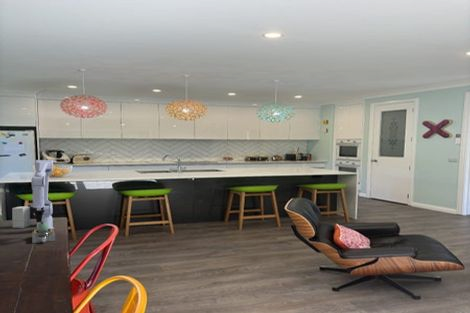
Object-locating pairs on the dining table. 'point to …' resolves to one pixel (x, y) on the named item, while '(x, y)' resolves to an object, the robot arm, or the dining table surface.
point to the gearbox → (43, 236)
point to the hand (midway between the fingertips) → (38, 221)
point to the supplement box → (21, 217)
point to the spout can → (42, 227)
